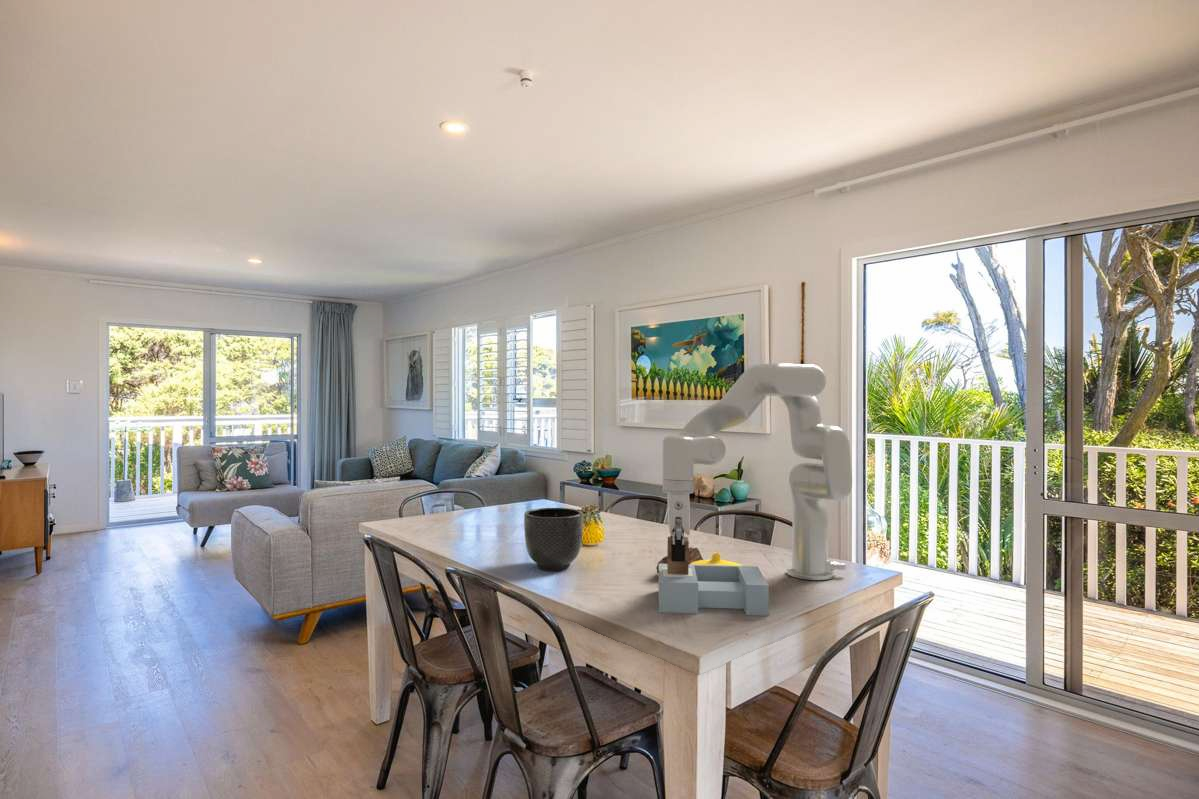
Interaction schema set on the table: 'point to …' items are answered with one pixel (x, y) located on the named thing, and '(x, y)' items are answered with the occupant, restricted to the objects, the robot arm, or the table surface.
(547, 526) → the planter
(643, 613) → the table surface
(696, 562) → the yellow piece
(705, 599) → the slot box
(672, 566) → the walnut block
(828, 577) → the robot arm
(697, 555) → the driftwood
